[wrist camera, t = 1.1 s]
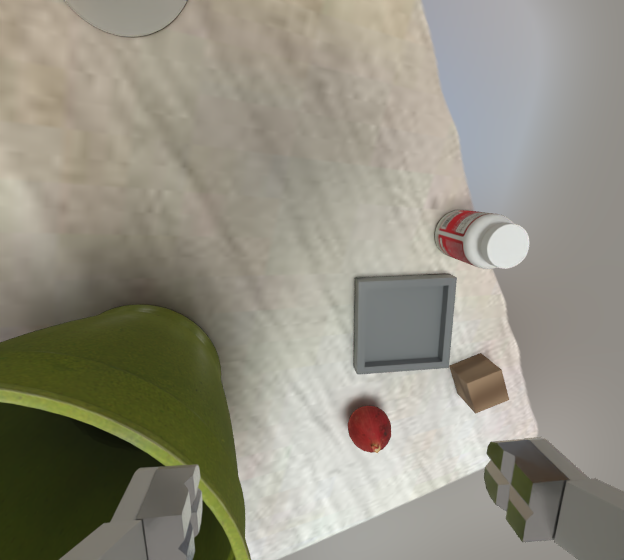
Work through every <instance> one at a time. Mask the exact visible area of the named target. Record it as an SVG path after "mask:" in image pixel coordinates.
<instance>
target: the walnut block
mask: <svg viewBox="0 0 624 560" xmlns="http://www.w3.org/2000/svg"><path fill="white" fill-rule="evenodd" d="M449 367H450V370H451V373H452V377H453V380H454V383H455V386H456V390H457V393H458V394H459V396H460V397H461V398H462V399H463V400H464V401H465V402H466V403H467V404H468V406H469V407H470V408H471V409H472V410H473V411H474V412H475V413H478V412H480V411H483V410H485V409H488V408H490V407H493V406H495V405H497V404H500V403H502V402H505V401H507V400H509V397H508V393H507V389H506V386H505V382H504V378H503V374H502V370H501V369H500V368H499V367H497V366H496V365H495V364H494V363H492V362H491V361H490V360H489V359H487V358H486V357H485V356H484V355H482V354H481V353H480V354H477V355H475V356H473V357H470V358H468V359H465V360H463V361H460V362H458V363H455V364H453V365H450V366H449Z"/></svg>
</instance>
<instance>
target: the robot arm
mask: <svg viewBox="0 0 624 560" xmlns="http://www.w3.org/2000/svg"><path fill="white" fill-rule="evenodd" d="M64 1H65V2H66V3H67V4H68V5H69V6H70V7H71V9H72V10H73V11H74V12H76V13H77V14H78V15H79V16H80V17H81V18H82V19H84V20H85V21H87V22H88V23H89V24H91V25H93V26H94V27H96V28H98V29H100V30H103V31H105V32H108V33H111V34H114V35H119V36H126V37H137V36H144V35H148V34H151V33H154V32H156V31H159V30H160V29H162V28H164V27H165V26H167V25H168V24H169V23H171V22H172V21H173V20H174V19H175V18H176V17H177V16H178V14H179V13H180V12H181V10H182V9H183V7H184V5H185V4H186V2H187V0H64ZM487 455H488V457H489V458H490V459H491V461H490V462H489V463H488V464H487V465H486V467H485V473H484V480H485V484H486V489H487V491H488V493H489V495H490V497H491V499H492V500H493V501H494V503H495V504H496V505H497V506H499V507H500V508H502V509H503V510H505V511H506V520H507V521H508V523H509V524H510V525H511V527H512V528H513V529H514V531H515V532H516V534H517V535H518V537H519V538H520V539H521V541H522V542H532V541H546V540H554V542H555V543H556V544H558V545H559V546H560V547H562V548H563V549H565V550H566V551H567V552H569V553H570V554H571V555H573V556H574V557H575V558H577V559H578V560H624V491H621V490H619V489H617V488H615V487H613V486H611V485H608V484H606V483H604V482H602V481H600V480H598V479H590V478H589V477H587V476H586V475H585V474H584V473H583V472H582V471H581V470H580V469H579V468H577V467H576V466H575V465H574V464H573V463H572V462H571V461H570V460H568V459H567V458H566V457H565V456H564V455H563V454H562V453H561V452H560V451H559V450H557V449H556V448H555V447H554V446H553V445H552V444H551V443H550V442H549V441H547V440H546V439H544V438H542V437H535V438H525V439H518V440H506V441H494V442H490V444H489V445H488V449H487ZM199 481H200V470H199V466H198V465H197V464H196V465H177V466H159V467H146V468H139V469H138V470H137V471H136V472H135V473H134V475H133V477H132V479H131V481H130V483H129V485H128V487H127V489H126V491H125V493H124V495H123V497H122V499H121V501H120V503H119V505H118V507H117V509H116V511H115V513H114V516H113V518H112V520H111V522H110V523H103V524H102V525H101V526H100V527H98V528H97V529H96V530H95V531H93V532H92V533H91V534H90V535H89V536H87V537H86V538H85V539H84V540H82V541H81V542H80V543H79V544H78V545H76V546H75V547H74V548H73V549H71V550H70V551H69V552H68V553H67V554H65V555H64V556H63V557H62V558H60V559H59V560H193V557H194V553H195V545H194V538H195V537H196V536H197V535H198V533H199V530H200V525H201V517H202V491H201V490H200V489H199V488H198V485H199Z"/></svg>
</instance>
